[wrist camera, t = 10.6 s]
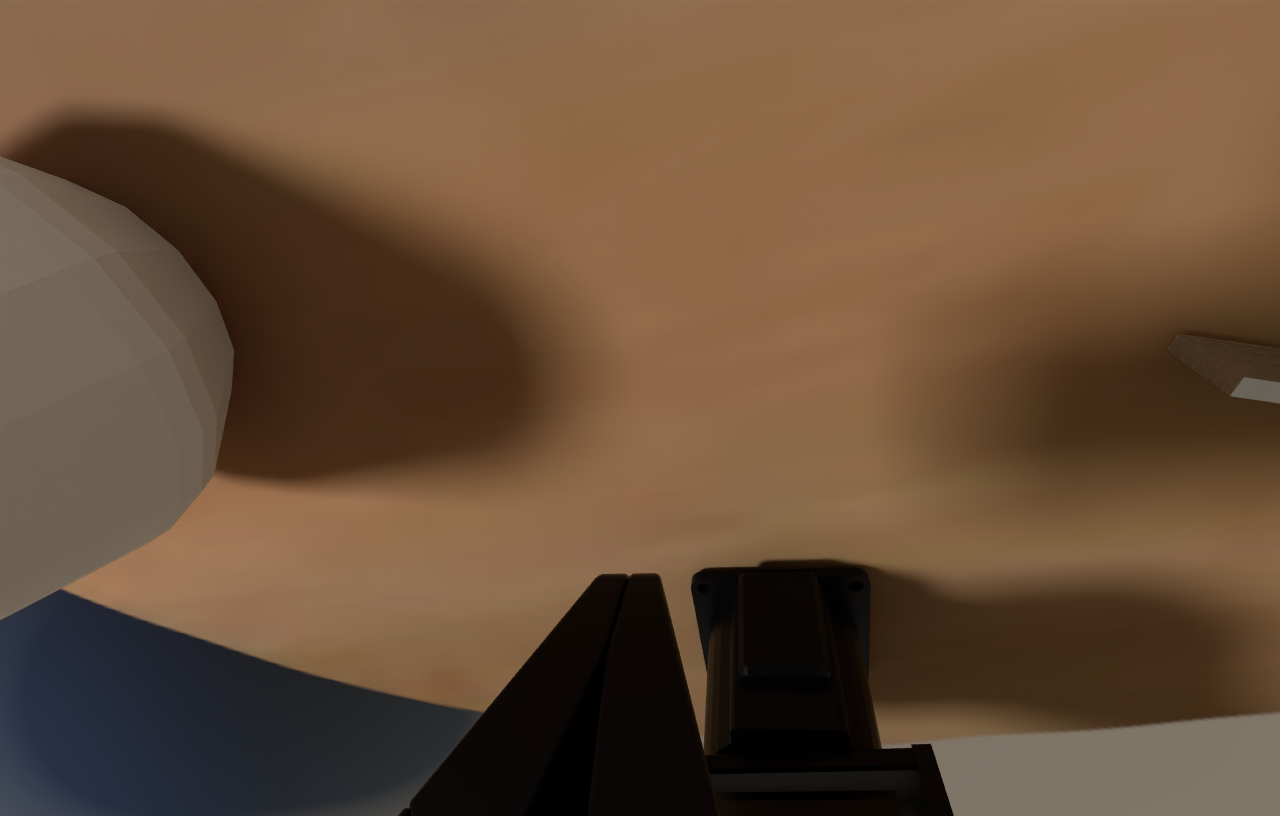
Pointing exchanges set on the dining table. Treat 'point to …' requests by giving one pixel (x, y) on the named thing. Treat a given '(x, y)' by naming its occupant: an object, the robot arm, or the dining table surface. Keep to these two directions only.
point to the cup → (97, 384)
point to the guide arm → (1232, 365)
